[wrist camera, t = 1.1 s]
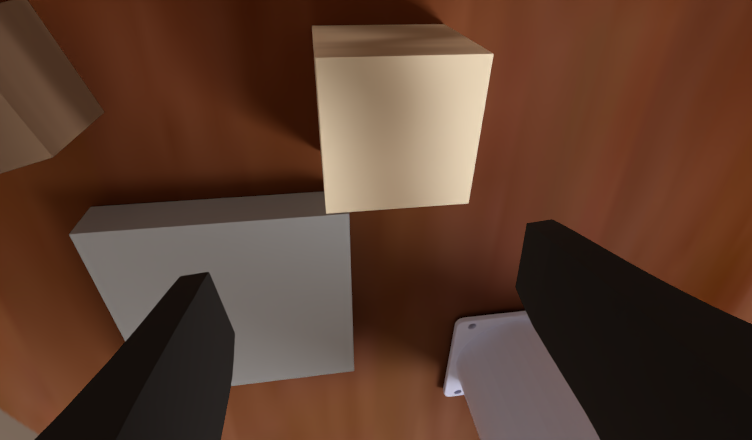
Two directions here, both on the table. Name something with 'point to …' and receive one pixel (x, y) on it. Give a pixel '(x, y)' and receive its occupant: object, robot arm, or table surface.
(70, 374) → the table surface
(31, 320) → the table surface
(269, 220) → the plate
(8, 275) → the table surface
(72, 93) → the walnut block
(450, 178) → the maple cube
